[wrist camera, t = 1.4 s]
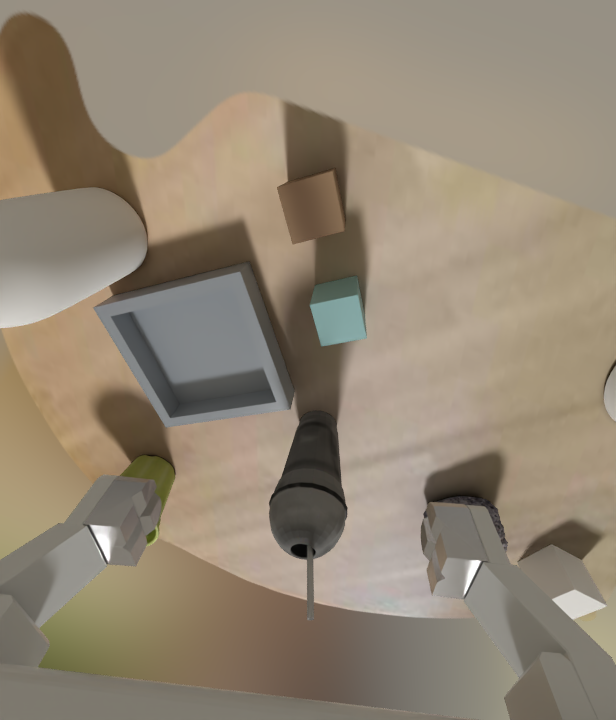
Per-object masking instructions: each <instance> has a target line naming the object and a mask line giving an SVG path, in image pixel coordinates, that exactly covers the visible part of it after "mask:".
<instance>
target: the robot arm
mask: <svg viewBox="0 0 616 720" xmlns="http://www.w3.org/2000/svg"><path fill="white" fill-rule="evenodd" d="M604 403H605V407H606V410H607V412H608V413H609V415H610V416H611V418H612V419H613V420H614V421H615V422H616V366H615V367H614V369H613V370H612V372H611V374H610V376H609V378H608V380H607V383H606V386H605V391H604ZM156 488H157V486H156V483H155V481H154V480H152V479H143V478H133V477H124V476H114V475H102V476H101V477H99V478H98V479H97V480H96V481H95V483H94V484H93V485H92V487H91V488H90V489H89V490H88V492H87V493H86V495H85V496H84V497H83V498H82V500H81V501H80V502H79V504H78V505H77V506H76V508H75V509H74V510H73V512H72V513H71V514H70V516H69V517H68V518H67V520H66V521H65V522H64V523H58V524H57V525H55V526H53V527H52V528H50V529H49V530H47V531H45V532H44V533H42V534H41V535H39V536H37V537H36V538H34V539H33V540H31V541H29V542H28V543H26V544H25V545H23V546H22V547H20V548H19V549H17V550H15V551H14V552H12V553H11V554H9V555H7V556H6V557H4V558H3V559H1V560H0V720H476V719H468V718H460V717H451V716H443V715H434V714H426V713H418V712H409V711H401V710H393V709H384V708H376V707H367V706H359V705H350V704H342V703H334V702H325V701H317V700H308V699H299V698H291V697H283V696H274V695H265V694H258V693H249V692H241V691H231V690H224V689H215V688H207V687H198V686H190V685H182V684H173V683H165V682H156V681H148V680H139V679H131V678H123V677H114V676H106V675H105V676H104V675H97V674H89V673H80V672H72V671H64V670H55V669H46V668H38V665H39V664H40V662H41V660H42V658H43V657H44V655H45V653H46V651H47V650H48V648H49V640H48V639H47V637H46V636H45V635H44V634H43V633H42V631H41V630H40V629H39V627H40V626H41V625H43V624H44V623H45V622H46V621H47V620H48V619H49V618H50V617H52V616H53V615H54V614H55V613H56V612H57V611H58V610H59V609H60V608H61V607H62V606H64V605H65V604H66V603H67V602H68V601H69V600H70V599H71V598H73V596H75V595H76V594H77V593H78V592H79V591H80V590H81V589H82V588H84V587H85V586H86V585H87V584H88V583H89V582H90V581H91V580H92V579H93V578H95V577H96V576H97V575H98V574H99V573H100V572H101V571H102V570H103V569H104V568H106V567H107V565H106V564H110V565H125V566H136V565H137V563H138V561H139V559H140V557H141V555H142V553H143V551H144V549H145V547H146V545H147V539H146V535H148V534H149V533H150V532H152V531H153V530H154V529H155V527H156V525H157V523H158V521H159V518H160V514H161V499H160V497H159V496H158V495H157V494H156V493H155V490H156ZM426 512H427V516H428V517H426V518H425V519H423V522H422V526H421V544H422V550H423V554H424V555H425V556H426V558H427V559H428V560H429V561H430V562H429V565H428V568H427V574H428V579H429V583H430V588H431V593H432V596H440V597H448V598H456V599H464V602H465V604H466V605H467V606H468V608H469V609H470V611H471V612H472V613H473V615H474V616H475V617H476V619H477V620H478V622H479V623H480V624H481V626H482V627H483V628H484V630H485V631H486V633H487V634H488V636H489V637H490V638H491V640H492V641H493V642H494V644H495V645H496V647H497V648H498V649H499V651H500V652H501V654H502V655H503V656H504V658H505V659H506V660H507V662H508V663H509V665H510V666H511V667H512V669H513V670H514V671H515V673H516V674H517V676H518V677H519V679H518V681H517V682H516V683H515V684H514V685H513V686H512V688H511V689H510V690H509V691H508V692H507V694H506V696H505V697H504V699H505V703H506V706H507V710H508V713H509V716H510V720H616V665H615V663H614V661H613V659H612V657H611V656H610V655H608V654H607V653H606V652H605V651H604V650H603V649H602V648H601V647H600V646H599V645H598V644H597V643H596V642H595V641H594V640H593V639H592V638H591V637H590V636H589V635H588V634H587V633H586V632H585V631H584V630H583V629H582V628H581V627H580V626H579V625H578V624H577V623H576V622H574V621H573V620H572V619H571V618H570V617H569V616H568V615H567V614H566V613H565V612H564V611H563V610H562V609H561V608H560V607H559V606H558V605H557V604H556V603H555V602H554V601H553V600H552V599H551V598H550V597H549V596H548V595H547V594H546V593H545V592H544V591H543V590H541V589H540V588H539V587H538V586H537V585H536V584H535V583H534V582H533V581H532V580H531V579H530V578H529V577H528V576H527V575H526V574H525V573H524V572H523V571H522V570H521V569H520V568H519V567H518V566H517V565H511V564H510V562H509V559H508V557H507V554H506V552H505V550H504V547H503V545H502V543H501V540H500V538H499V535H498V533H497V531H496V528H495V526H494V524H493V521H492V519H491V516H490V514H489V512H488V510H487V509H486V507H485V506H475V505H465V504H454V503H439V502H430V503H429V504H428V505H427V509H426Z"/></svg>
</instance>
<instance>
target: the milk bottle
mask: <svg viewBox="0 0 616 720" xmlns="http://www.w3.org/2000/svg"><path fill="white" fill-rule="evenodd" d="M147 243H148V241H147V234H146V231H145V228H144V225H143V223H142V221H141V219H140V217H139V216H138V214H137V213H136V211H135V210H134V209H133V208H132V207H131V206H130V205H129V204H128V203H127V202H126V201H125V200H123V199H122V198H121V197H119V196H118V195H116V194H114V193H112V192H110V191H108V190H105V189H102V188H96V187H89V188H79V189H71V190H64V191H57V192H50V193H44V194H37V195H30V196H24V197H17V198H11V199H5V200H0V328H7V327H16V326H22V325H27V324H31V323H34V322H37V321H40V320H43V319H45V318H48V317H50V316H52V315H54V314H56V313H59V312H61V311H63V310H65V309H67V308H69V307H71V306H72V305H74V304H76V303H78V302H80V301H82V300H83V299H85V298H87V297H89V296H91V295H93V294H94V293H96V292H98V291H100V290H102V289H103V288H105V287H107V286H109V285H111V284H112V283H114V282H116V281H118V280H120V279H121V278H123V277H125V276H127V275H128V274H130V273H132V272H133V271H135V270H136V269H137V268H138V267H140V265H141V264H142V263H143V261H144V259H145V256H146V252H147Z"/></svg>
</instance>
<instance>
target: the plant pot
mask: <svg viewBox="0 0 616 720" xmlns="http://www.w3.org/2000/svg"><path fill="white" fill-rule="evenodd" d="M120 476H124V477H133V478H143V479H152V480H154V481H155V483H156V486H157V488H156V490H155V493H156V494H157V495H158V496H159V497H160V499H161V514H160V517H161V515H162V512H163V509H164V506H165V504H166V501H167V498H168V496H169V493H170V490H171V488H172V485H173V482H174V480H175V474H174V469H173V467H172V466H171V465H170V464H169V463H168V462H167V461H165V460H164V459H162V458H160V457H157V456H154V457H150V456H147V455H142V456H139V457H137V458H136V459H135V460H134V461H133V462H132V463H131V464H130V465H129V466H128V468H127V469H126V470H125V471H124V472H123V473H122V474H121V475H120ZM160 520H161V519H160V518H159V521H158V523H157V525H156V527H155V529H154V530H153V531H152V532H150V533H149V534H148V535H146V539H147V545H146V546H149V545H151V544H153V543H154V542H155V541H156V540H157V538H158V536H159V525H160Z"/></svg>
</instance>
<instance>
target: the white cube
mask: <svg viewBox="0 0 616 720" xmlns="http://www.w3.org/2000/svg"><path fill="white" fill-rule="evenodd" d="M518 565H519V567H520V569H521V570H522V571H523V572H524V573H525V574H526V575H527V576H528V577H529V578H530V579H531V580H532V581H533V582H534V583H535V584H536V585H537V586H538V587H539V588H540V589H541V590H543V591H544V592H545V593H546V594H547V595H548V596H549V597H550V598H551V599H552V600H553V601H554V602H555V603H556V604H557V605H558V606H559V607H560V608H561V609H562V610H563V611H564V612H565V613H566V614H567V615H568V616H569V617H570V618H571V619H572V620H573V619H575V618H578V617H581V616H583V615H586V614H588V613H591V612H594V611H596V610H599V609H601V608H604V607H606V606H607V604H606V602H605V600H604V599H603V597H602V595H601V593H600V592H599V590H598V588H597V586H596V584H595V583H594V581H593V579H592V577H591V576H590V574H589V572H588V570H587V568H586V567H585V565H584V563H583V561H582V560H581V559H579V558H577V557H575V556H573V555H571V554H569V553H567V552H566V551H564V550H562V549H560V548H558V547H556V546H554V545H552V544H551V545H549V546H547V547H545V548H543V549H541V550H539V551H537V552H536V553H534V554H532V555H530V556H528V557H526V558H524V559H522V560H520V561H518Z"/></svg>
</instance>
